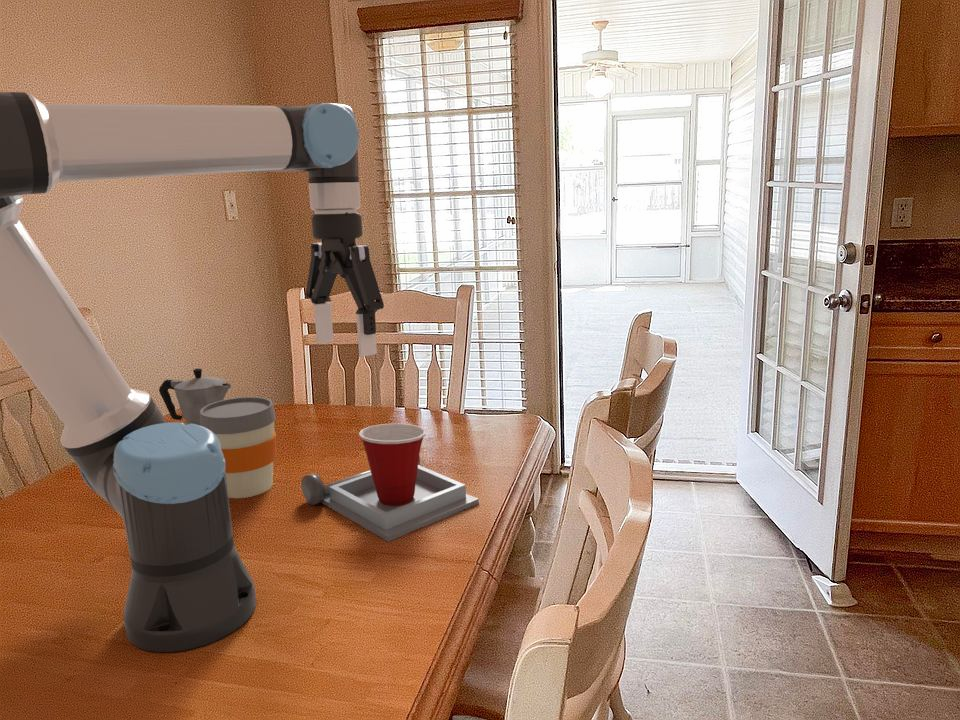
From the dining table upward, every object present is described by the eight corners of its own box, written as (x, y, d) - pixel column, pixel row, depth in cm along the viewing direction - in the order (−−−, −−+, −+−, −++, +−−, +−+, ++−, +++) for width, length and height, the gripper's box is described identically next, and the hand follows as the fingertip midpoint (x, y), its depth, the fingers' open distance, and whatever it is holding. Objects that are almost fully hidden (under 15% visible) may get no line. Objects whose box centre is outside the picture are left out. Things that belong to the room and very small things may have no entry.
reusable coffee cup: (296, 485, 127) (288, 404, 124) (231, 509, 119) (220, 423, 115) (259, 468, 136) (251, 392, 132) (196, 489, 127) (184, 409, 123)
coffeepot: (250, 448, 147) (240, 363, 143) (226, 465, 138) (215, 375, 134) (182, 445, 150) (170, 362, 146) (155, 462, 141) (141, 374, 137)
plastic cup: (443, 492, 120) (439, 424, 117) (402, 518, 111) (397, 445, 108) (392, 480, 126) (388, 415, 123) (350, 504, 117) (344, 434, 114)
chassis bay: (379, 545, 105) (376, 514, 103) (302, 500, 121) (300, 472, 120) (486, 500, 118) (484, 472, 117) (404, 464, 135) (402, 439, 134)
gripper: (402, 211, 102) (409, 356, 107) (320, 211, 121) (329, 334, 125) (356, 213, 97) (366, 365, 102) (278, 212, 116) (289, 341, 121)
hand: (345, 348), depth 114 cm, fingers open, 13 cm apart
